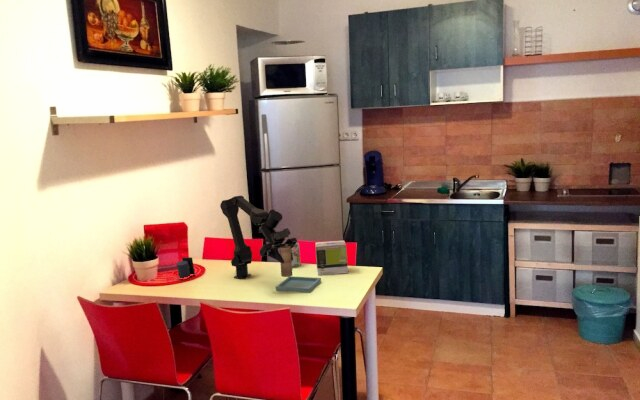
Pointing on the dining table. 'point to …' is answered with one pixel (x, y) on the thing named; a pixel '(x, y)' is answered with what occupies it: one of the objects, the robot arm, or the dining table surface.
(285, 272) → the pepper mill
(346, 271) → the tea box
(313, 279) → the tray
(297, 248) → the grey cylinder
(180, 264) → the speaker
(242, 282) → the dining table surface
